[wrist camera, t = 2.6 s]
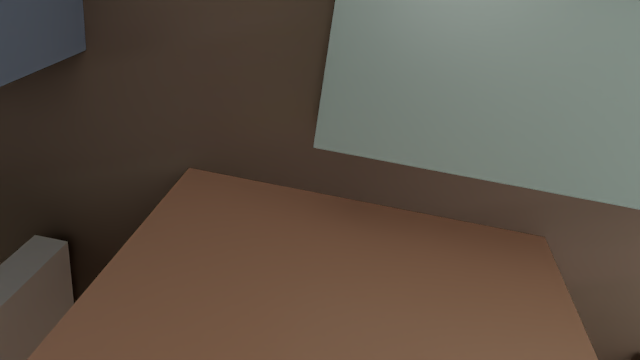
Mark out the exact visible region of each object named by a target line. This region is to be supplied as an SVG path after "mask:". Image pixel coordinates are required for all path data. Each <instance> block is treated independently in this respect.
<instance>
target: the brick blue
mask: <svg viewBox="0 0 640 360" xmlns="http://www.w3.org/2000/svg"><path fill="white" fill-rule="evenodd" d="M85 50H86V42H85V27H84V12H83V0H0V87H1V86H3V85H6V84H8V83H10V82H13V81H15V80H17V79H20V78H22V77H24V76H27V75H29V74H32V73H34V72H36V71H39V70H41V69H43V68H46V67H48V66H50V65H53V64H55V63H57V62H60V61H62V60H64V59H67V58H69V57H71V56H74V55H76V54H78V53H81V52H83V51H85Z"/></svg>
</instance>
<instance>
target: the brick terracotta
mask: <svg viewBox="0 0 640 360" xmlns="http://www.w3.org/2000/svg"><path fill="white" fill-rule="evenodd" d="M27 360H598V358H597V356H596V354H595V351H594V349H593V347H592V344H591V342H590V340H589V338H588V335H587V333H586V331H585V328H584V326H583V324H582V322H581V319H580V317H579V315H578V312H577V310H576V308H575V306H574V303H573V301H572V299H571V296H570V294H569V292H568V290H567V287H566V285H565V283H564V280H563V278H562V276H561V274H560V271H559V269H558V267H557V264H556V262H555V260H554V257H553V255H552V253H551V251H550V248H549V246H548V244H547V241H546V239H545V237H542V236H537V235H531V234H526V233H521V232H516V231H511V230H506V229H501V228H496V227H490V226H485V225H480V224H475V223H470V222H465V221H460V220H454V219H449V218H444V217H439V216H434V215H429V214H424V213H419V212H413V211H408V210H403V209H398V208H393V207H388V206H383V205H377V204H372V203H367V202H362V201H357V200H352V199H347V198H341V197H336V196H331V195H326V194H321V193H316V192H311V191H306V190H300V189H295V188H290V187H285V186H280V185H275V184H270V183H264V182H259V181H254V180H249V179H244V178H239V177H234V176H228V175H223V174H218V173H213V172H208V171H203V170H198V169H193V168H188V170H187V171H186V172H185V173H184V174H183V175H182V177H181V178H180V179H179V180H178V181H177V183H176V184H175V185H174V186H173V187H172V188H171V190H170V191H169V192H168V193H167V194H166V196H165V197H164V198H163V199H162V200H161V201H160V203H159V204H158V205H157V206H156V207H155V209H154V210H153V211H152V212H151V213H150V215H149V216H148V217H147V218H146V219H145V220H144V222H143V223H142V224H141V225H140V226H139V228H138V229H137V230H136V231H135V232H134V233H133V235H132V236H131V237H130V238H129V239H128V241H127V242H126V243H125V244H124V245H123V246H122V248H121V249H120V250H119V251H118V252H117V254H116V255H115V256H114V257H113V258H112V259H111V261H110V262H109V263H108V264H107V265H106V267H105V268H104V269H103V270H102V271H101V272H100V274H99V275H98V276H97V277H96V278H95V280H94V281H93V282H92V283H91V284H90V285H89V287H88V288H87V289H86V290H85V291H84V293H83V294H82V295H81V296H80V297H79V298H78V300H77V301H76V302H75V303H74V304H73V306H72V307H71V308H70V309H69V310H68V311H67V313H66V314H65V315H64V316H63V317H62V319H61V320H60V321H59V322H58V323H57V325H56V326H55V327H54V328H53V329H52V330H51V332H50V333H49V334H48V335H47V336H46V338H45V339H44V340H43V341H42V342H41V343H40V345H39V346H38V347H37V348H36V349H35V351H34V352H33V353H32V354H31V355H30V356H29V358H28V359H27Z"/></svg>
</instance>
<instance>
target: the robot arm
mask: <svg viewBox="0 0 640 360" xmlns="http://www.w3.org/2000/svg"><path fill="white" fill-rule="evenodd" d="M73 304H74V299H73V289H72V279H71V269H70V259H69V249H68V242H67V241H62V240H57V239H53V238H48V237H43V236H38V235H34V236H33V237H32V238H31V239H30V240H28V241H27V242H26V243H25V244H24V245H23V246H21V247H20V248H19V249H18V250H17V251H16V252H14V253H13V254H12V255H11V256H10V257H9V258H8V259H6V260H5V261H4V262H3V263H2V264H1V265H0V360H27V359H28V358H29V356H30V355H31V354H32V353H33V352H34V351H35V349H36V348H37V347H38V346H39V345H40V343H41V342H42V341H43V340H44V339H45V338H46V336H47V335H48V334H49V333H50V332H51V330H52V329H53V328H54V327H55V326H56V325H57V323H58V322H59V321H60V320H61V319H62V317H63V316H64V315H65V314H66V313H67V311H68V310H69V309H70V308H71V307H72V306H73Z"/></svg>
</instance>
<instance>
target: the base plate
mask: <svg viewBox="0 0 640 360" xmlns="http://www.w3.org/2000/svg"><path fill="white" fill-rule="evenodd" d="M313 148H318V149H323V150H329V151H334V152H339V153H344V154H350V155H355V156H360V157H365V158H371V159H376V160H381V161H386V162H392V163H397V164H402V165H407V166H413V167H418V168H423V169H429V170H434V171H439V172H444V173H450V174H455V175H460V176H465V177H471V178H476V179H481V180H486V181H492V182H497V183H502V184H508V185H513V186H518V187H523V188H529V189H534V190H539V191H544V192H550V193H555V194H560V195H565V196H571V197H576V198H581V199H586V200H592V201H597V202H602V203H608V204H613V205H618V206H623V207H629V208H634V209H639V210H640V0H335V5H334V12H333V19H332V26H331V32H330V39H329V46H328V52H327V59H326V66H325V72H324V79H323V86H322V93H321V99H320V106H319V113H318V119H317V126H316V133H315V139H314V146H313Z"/></svg>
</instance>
